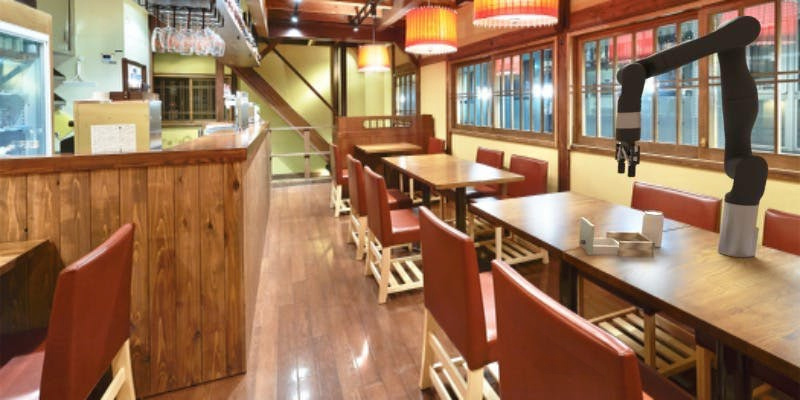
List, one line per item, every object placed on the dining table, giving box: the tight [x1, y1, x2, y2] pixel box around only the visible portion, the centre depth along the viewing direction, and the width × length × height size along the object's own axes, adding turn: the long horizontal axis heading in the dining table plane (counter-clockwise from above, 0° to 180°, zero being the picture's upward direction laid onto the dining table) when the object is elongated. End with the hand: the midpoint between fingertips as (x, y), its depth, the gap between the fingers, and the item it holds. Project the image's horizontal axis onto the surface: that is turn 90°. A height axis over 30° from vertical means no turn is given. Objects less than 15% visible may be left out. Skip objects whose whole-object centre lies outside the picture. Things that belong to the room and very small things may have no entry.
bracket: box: [578, 216, 619, 256], centre depth 156 cm, size 12×12×10 cm
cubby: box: [605, 231, 656, 258], centre depth 156 cm, size 11×13×5 cm
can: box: [641, 210, 665, 249], centre depth 161 cm, size 6×6×12 cm
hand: (626, 175), depth 153 cm, fingers open, 8 cm apart
